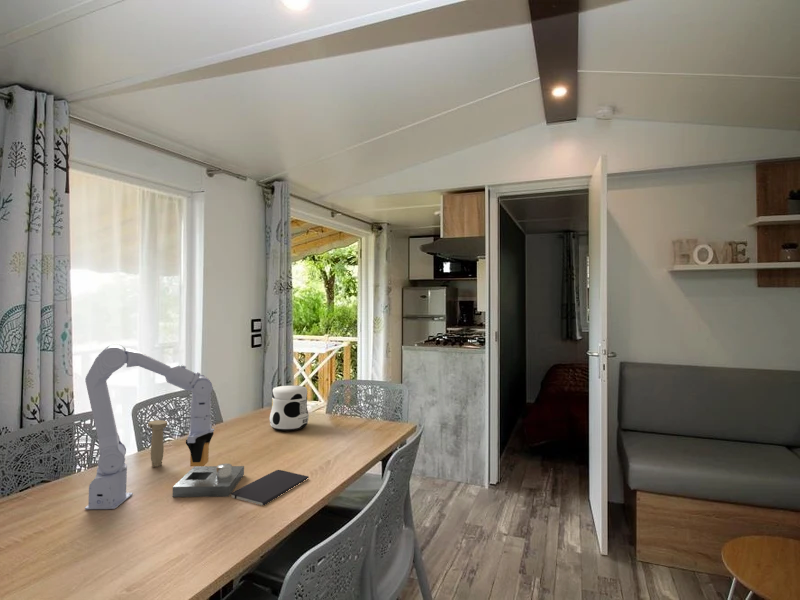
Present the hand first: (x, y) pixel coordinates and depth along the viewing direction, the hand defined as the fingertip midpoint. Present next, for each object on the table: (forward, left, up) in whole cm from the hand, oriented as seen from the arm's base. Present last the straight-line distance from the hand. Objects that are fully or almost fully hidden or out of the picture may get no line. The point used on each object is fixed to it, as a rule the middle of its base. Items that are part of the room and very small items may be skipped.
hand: (199, 459), depth 136 cm
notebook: (-2, -22, -9) cm, 24 cm away
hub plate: (0, -3, -8) cm, 9 cm away
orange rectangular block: (0, 0, -2) cm, 2 cm away
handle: (+17, +21, -8) cm, 28 cm away
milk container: (+63, -16, -8) cm, 66 cm away
